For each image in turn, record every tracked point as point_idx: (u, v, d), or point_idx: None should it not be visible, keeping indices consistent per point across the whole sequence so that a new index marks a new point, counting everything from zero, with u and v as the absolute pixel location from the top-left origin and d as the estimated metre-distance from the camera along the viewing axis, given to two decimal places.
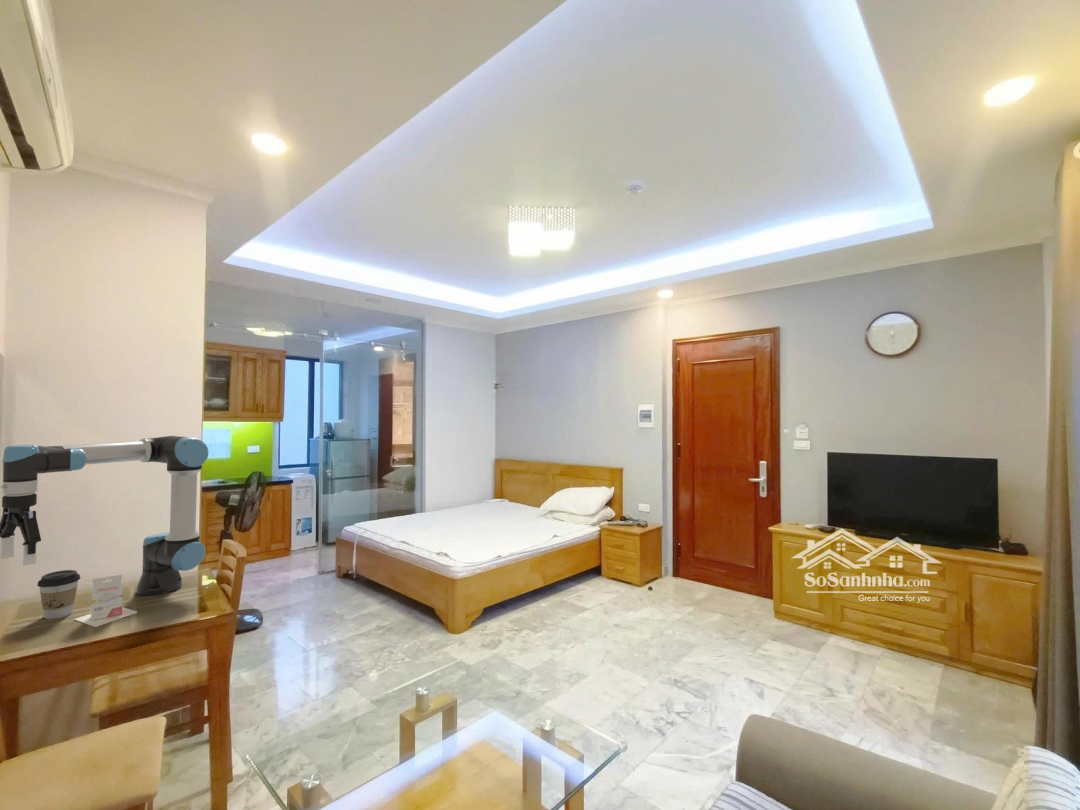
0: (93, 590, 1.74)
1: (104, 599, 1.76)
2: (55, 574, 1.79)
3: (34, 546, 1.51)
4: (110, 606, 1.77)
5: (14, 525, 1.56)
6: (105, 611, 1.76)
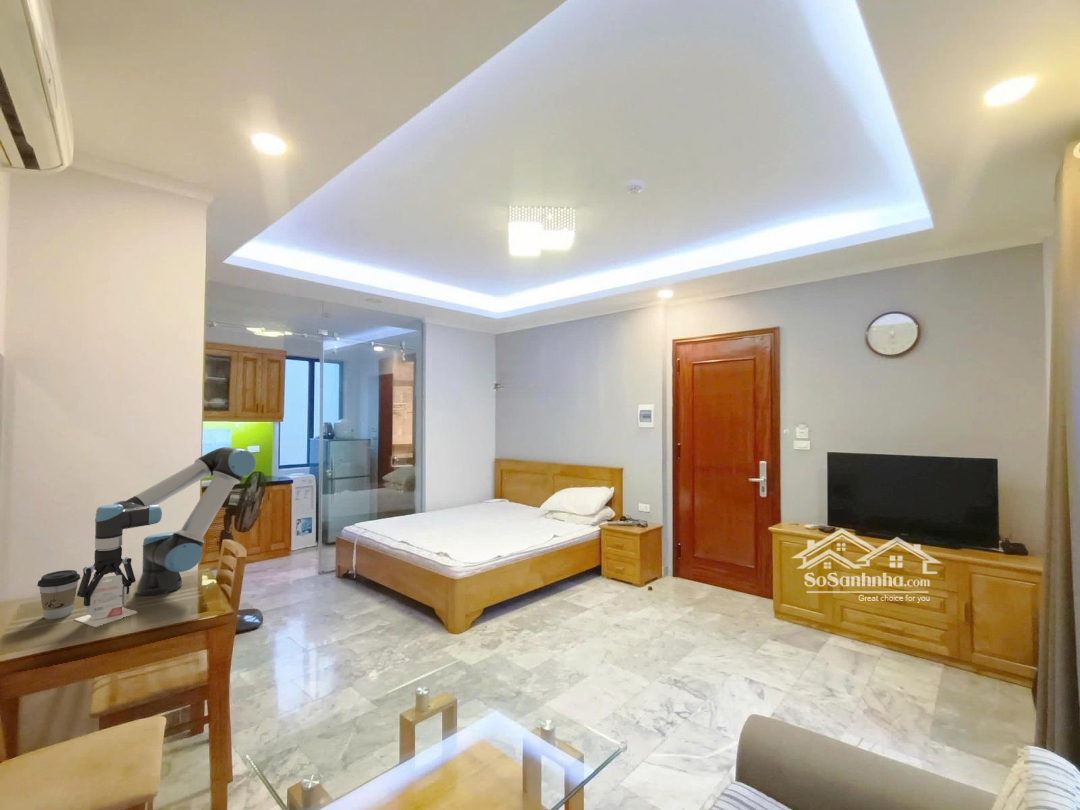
0: None
1: (104, 598, 1.76)
2: (55, 574, 1.78)
3: (85, 600, 1.72)
4: (110, 606, 1.77)
5: None
6: (105, 611, 1.76)
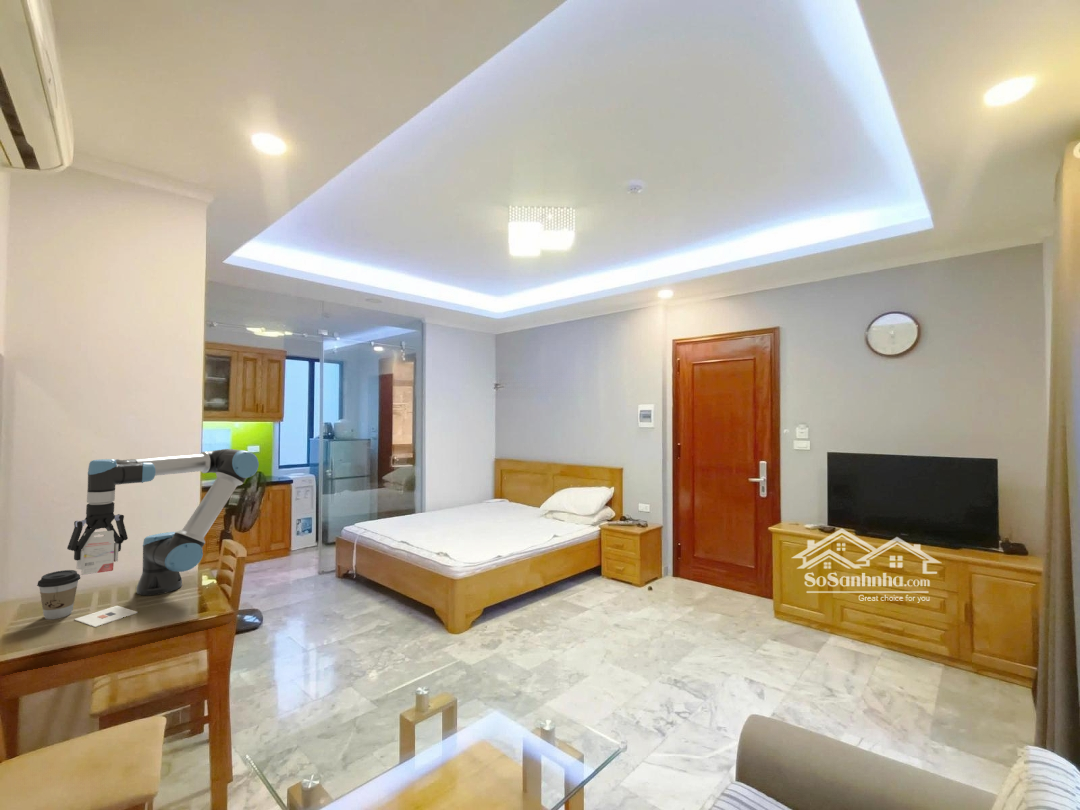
0: None
1: (95, 554, 1.73)
2: (55, 574, 1.79)
3: (76, 554, 1.69)
4: (101, 562, 1.74)
5: None
6: (96, 566, 1.73)
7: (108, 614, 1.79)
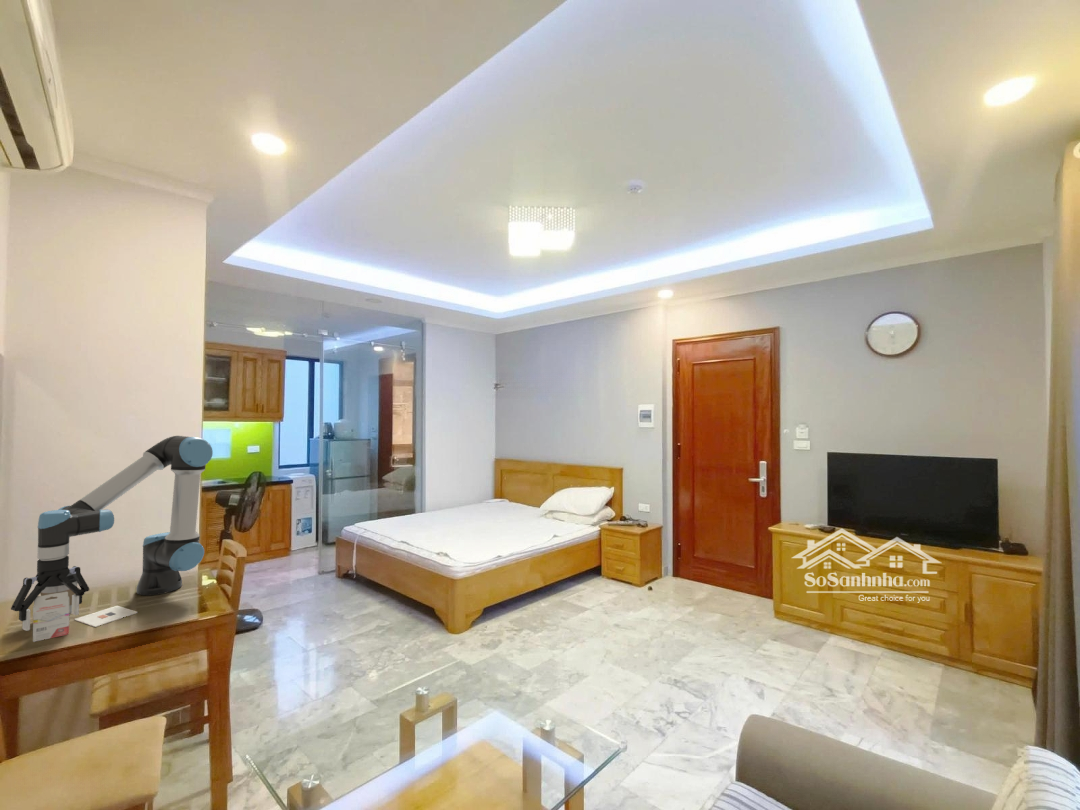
0: (35, 609, 1.59)
1: (47, 618, 1.61)
2: None
3: (20, 614, 1.56)
4: (55, 626, 1.62)
5: (67, 585, 1.66)
6: (49, 631, 1.61)
7: (108, 614, 1.79)
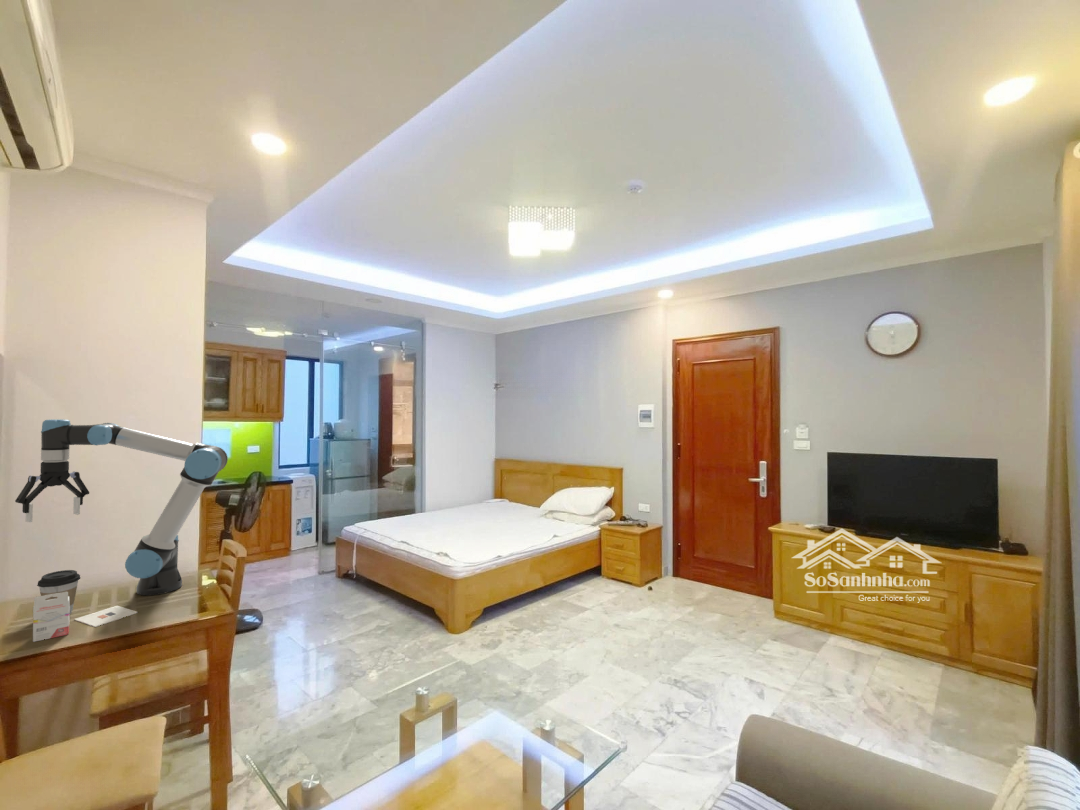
0: (35, 609, 1.59)
1: (48, 618, 1.61)
2: (55, 574, 1.79)
3: (24, 506, 1.73)
4: (55, 626, 1.62)
5: (68, 487, 1.85)
6: (49, 631, 1.61)
7: (108, 614, 1.79)
